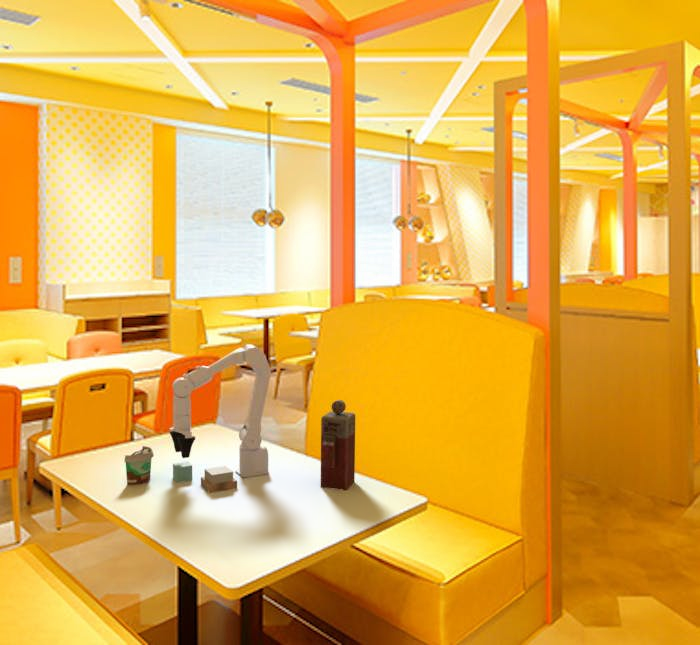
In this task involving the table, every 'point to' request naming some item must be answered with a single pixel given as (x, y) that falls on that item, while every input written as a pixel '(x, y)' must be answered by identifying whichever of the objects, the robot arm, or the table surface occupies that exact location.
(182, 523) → the table surface
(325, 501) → the table surface
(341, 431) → the red grey gas pump
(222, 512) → the table surface
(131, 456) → the food container
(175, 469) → the teal cube
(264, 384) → the robot arm
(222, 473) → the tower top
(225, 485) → the tower base
